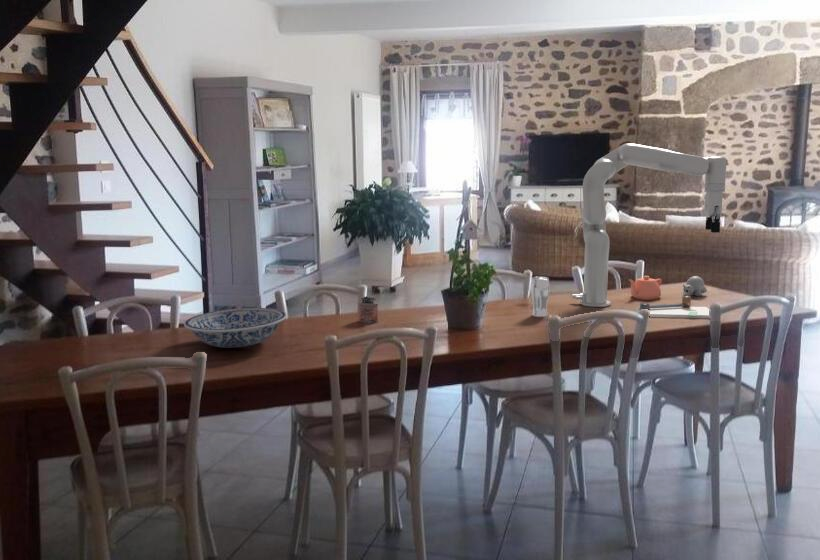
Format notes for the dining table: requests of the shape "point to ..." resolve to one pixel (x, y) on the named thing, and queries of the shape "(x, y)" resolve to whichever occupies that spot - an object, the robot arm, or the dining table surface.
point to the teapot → (646, 288)
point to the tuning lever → (685, 303)
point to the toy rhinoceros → (694, 286)
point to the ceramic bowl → (235, 326)
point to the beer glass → (540, 296)
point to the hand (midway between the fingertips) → (712, 230)
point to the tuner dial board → (680, 312)
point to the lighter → (368, 310)
